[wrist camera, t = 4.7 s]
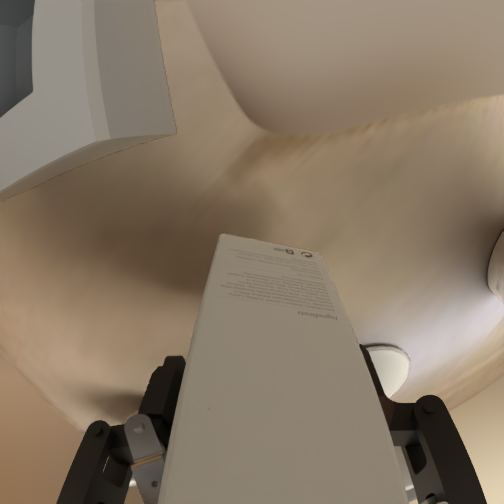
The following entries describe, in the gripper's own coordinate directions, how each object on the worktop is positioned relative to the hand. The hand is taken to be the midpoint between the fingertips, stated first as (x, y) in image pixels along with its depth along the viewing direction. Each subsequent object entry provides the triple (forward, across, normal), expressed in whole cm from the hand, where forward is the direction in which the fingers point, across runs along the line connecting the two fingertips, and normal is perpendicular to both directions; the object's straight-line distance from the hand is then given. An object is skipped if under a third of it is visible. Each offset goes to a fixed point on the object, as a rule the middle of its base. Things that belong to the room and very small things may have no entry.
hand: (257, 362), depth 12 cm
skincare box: (+5, 0, 0) cm, 5 cm away
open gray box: (+9, +10, -19) cm, 24 cm away
